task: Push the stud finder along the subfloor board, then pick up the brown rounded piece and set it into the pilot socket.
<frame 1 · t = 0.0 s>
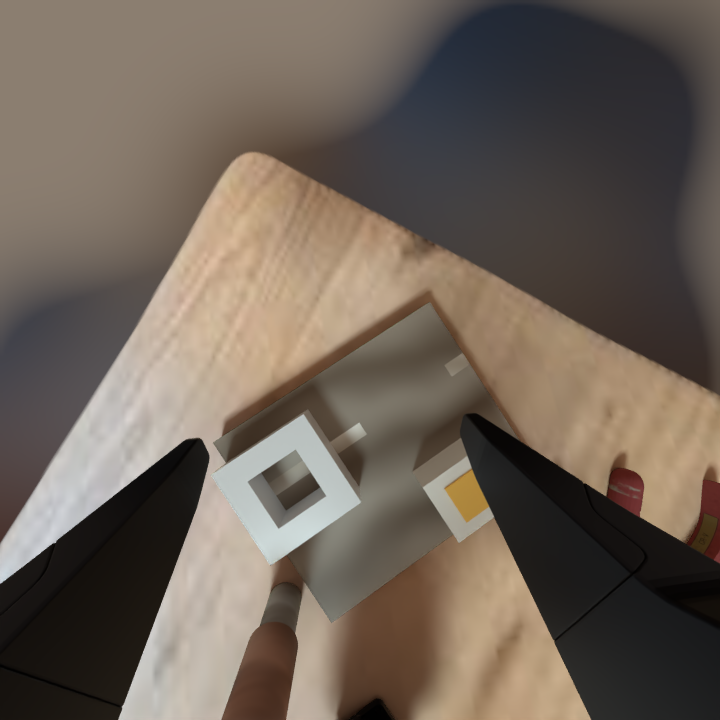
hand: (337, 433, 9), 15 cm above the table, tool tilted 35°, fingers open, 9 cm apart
pilot socket: (296, 468, 23), resting on subfloor board
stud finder: (460, 472, 23), point 1 cm above the table, touching subfloor board
subfloor board: (379, 451, 24), on the table
pliers: (630, 557, 26), on the table
brown rounded piece: (285, 598, 23), on the table
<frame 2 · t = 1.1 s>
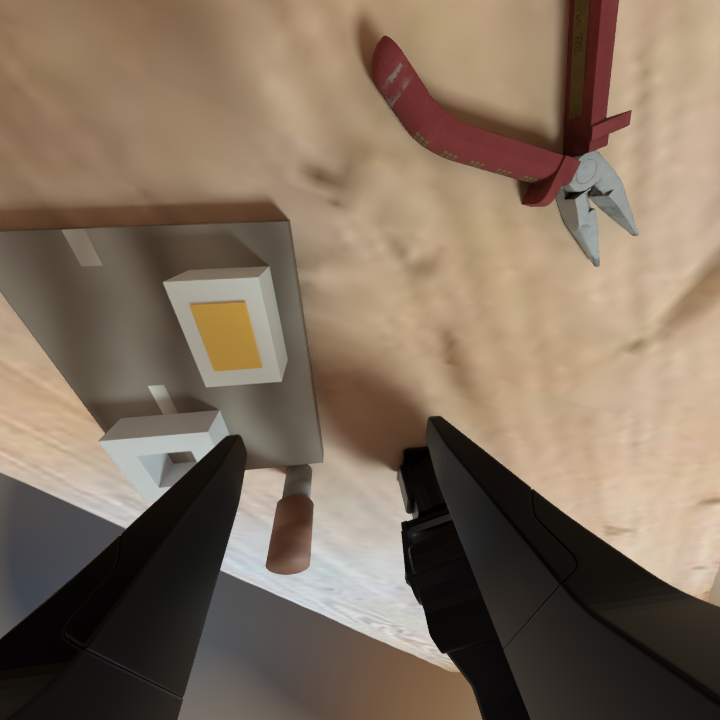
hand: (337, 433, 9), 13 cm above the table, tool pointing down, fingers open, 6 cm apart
pilot socket: (195, 434, 25), resting on subfloor board
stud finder: (243, 319, 18), point 1 cm above the table, touching subfloor board
subfloor board: (203, 372, 22), on the table
pliers: (507, 143, 17), on the table
brown rounded piece: (299, 471, 30), on the table
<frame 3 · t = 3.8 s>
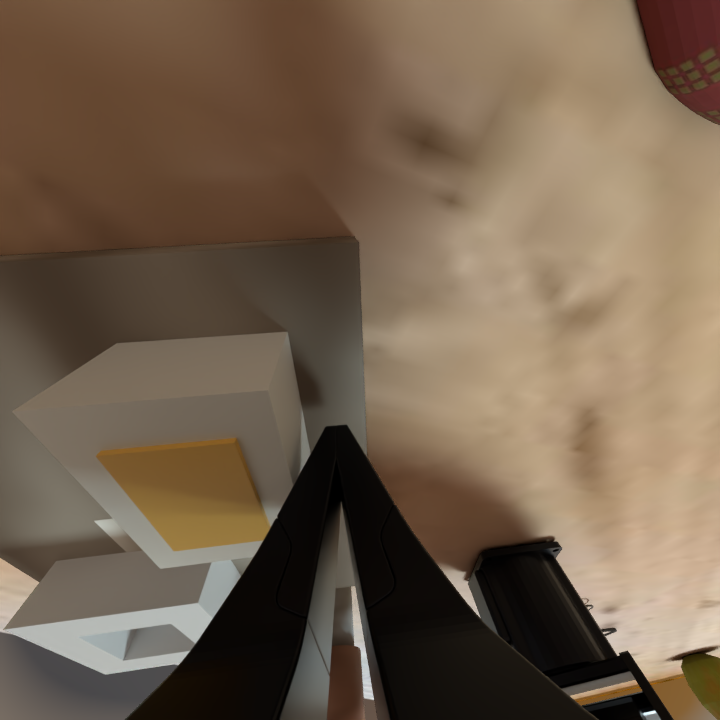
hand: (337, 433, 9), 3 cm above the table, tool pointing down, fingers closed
pilot socket: (183, 554, 17), resting on subfloor board
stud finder: (235, 421, 10), point 2 cm above the table, touching gripper
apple: (691, 653, 58), on the table
subfloor board: (190, 481, 13), on the table
brown rounded piece: (333, 580, 21), on the table
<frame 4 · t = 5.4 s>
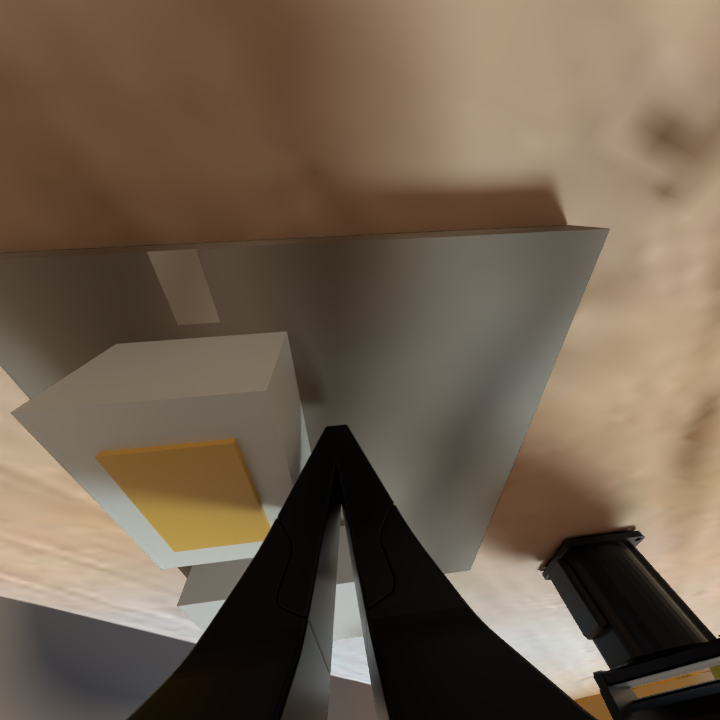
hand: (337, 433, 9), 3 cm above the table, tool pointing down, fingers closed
pilot socket: (294, 540, 17), resting on subfloor board
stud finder: (235, 422, 10), point 1 cm above the table, touching gripper, subfloor board
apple: (717, 648, 59), on the table
subfloor board: (330, 466, 14), on the table
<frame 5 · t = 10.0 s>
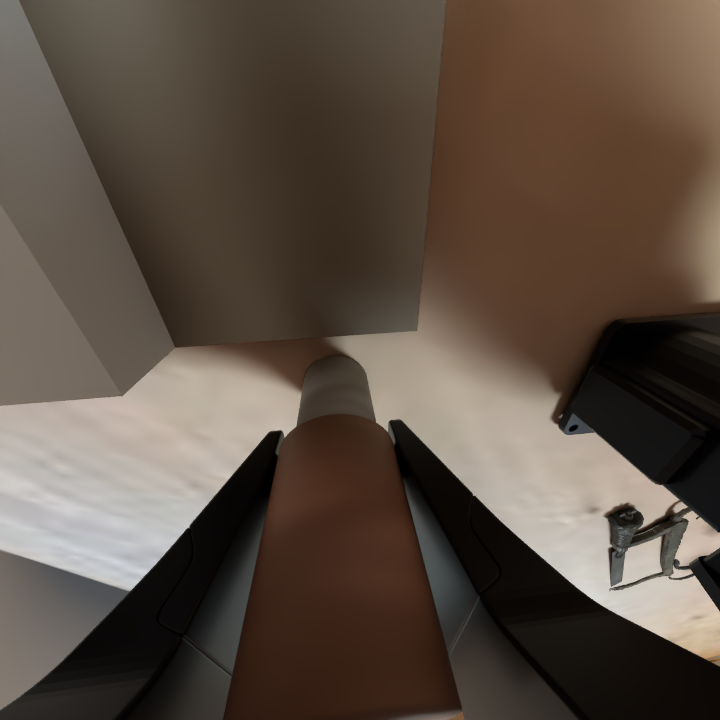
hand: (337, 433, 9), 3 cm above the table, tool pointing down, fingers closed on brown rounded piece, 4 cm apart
pilot socket: (0, 209, 7), resting on subfloor board
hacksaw: (657, 542, 26), on the table
brown rounded piece: (335, 382, 12), on the table, touching gripper
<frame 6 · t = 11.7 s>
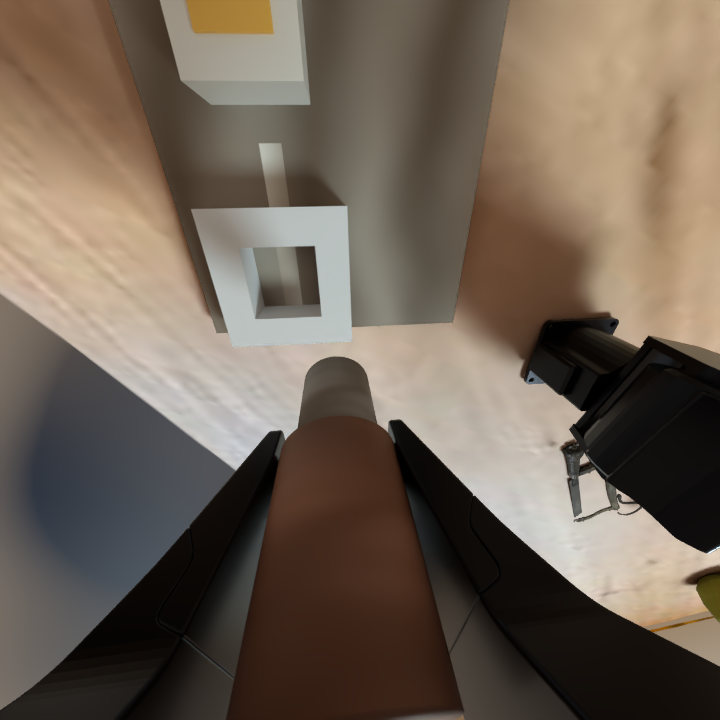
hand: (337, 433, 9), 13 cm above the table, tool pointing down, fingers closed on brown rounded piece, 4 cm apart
pilot socket: (293, 270, 19), resting on subfloor board
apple: (707, 576, 59), on the table
subfloor board: (326, 148, 16), on the table
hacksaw: (603, 478, 37), on the table
brown rounded piece: (336, 383, 12), point 10 cm above the table, touching gripper
when the fingers open (6 cm above the table, at t = 13.9 s): brown rounded piece drops 1 cm, resting on subfloor board.
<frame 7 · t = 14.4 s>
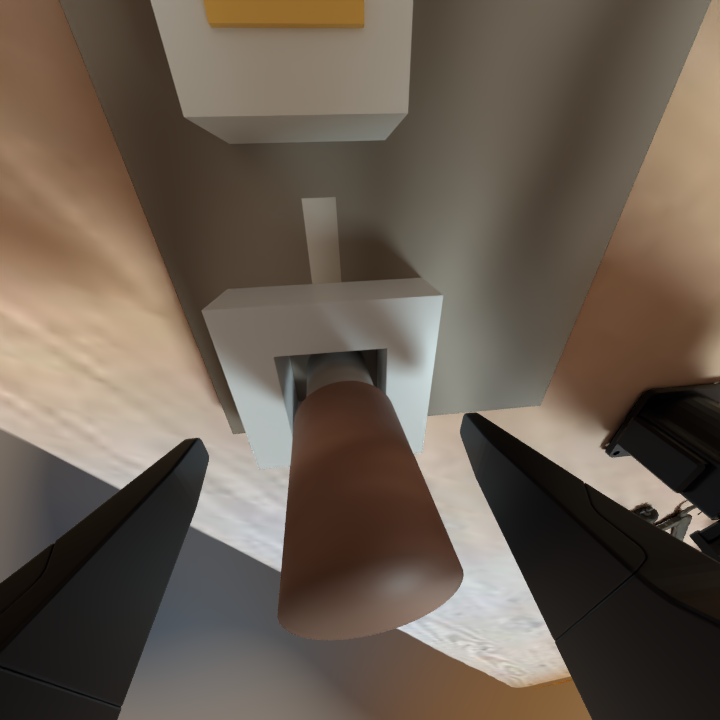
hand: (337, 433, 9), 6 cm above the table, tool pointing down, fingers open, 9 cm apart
pilot socket: (334, 350, 14), resting on subfloor board
subfloor board: (393, 195, 11), on the table
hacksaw: (667, 533, 32), on the table
brown rounded piece: (336, 366, 13), point 2 cm above the table, touching subfloor board
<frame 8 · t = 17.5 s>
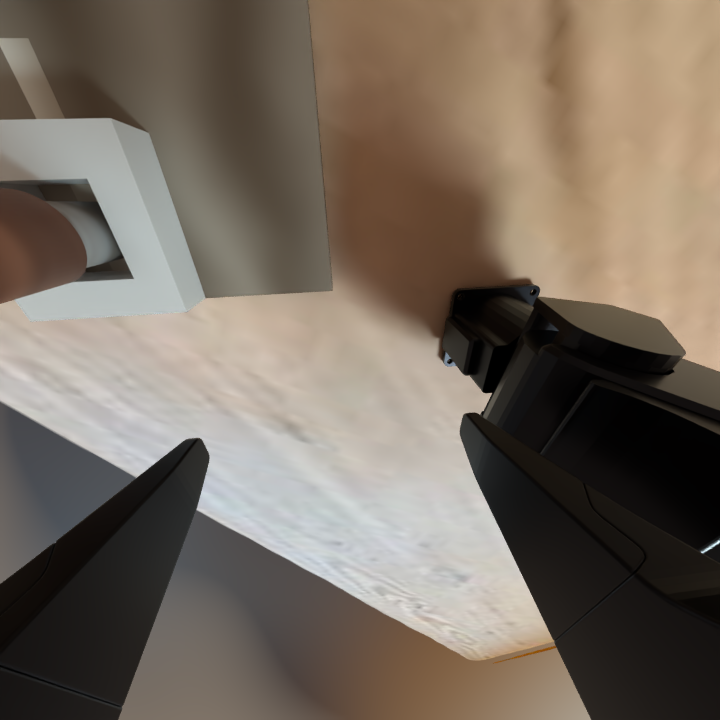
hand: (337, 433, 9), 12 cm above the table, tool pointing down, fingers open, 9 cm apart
pilot socket: (123, 228, 15), resting on subfloor board
subfloor board: (116, 56, 12), on the table
brown rounded piece: (106, 231, 14), point 2 cm above the table, touching subfloor board
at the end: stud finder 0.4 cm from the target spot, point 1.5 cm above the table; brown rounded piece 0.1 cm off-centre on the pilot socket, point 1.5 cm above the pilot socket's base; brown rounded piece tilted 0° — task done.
